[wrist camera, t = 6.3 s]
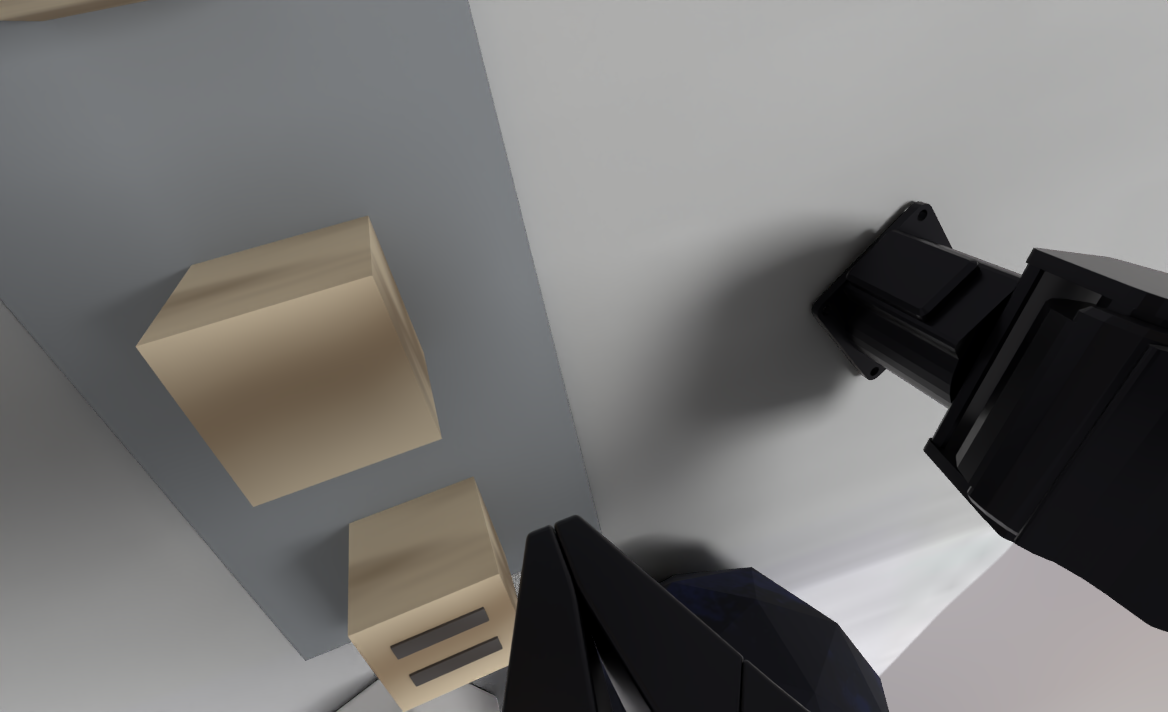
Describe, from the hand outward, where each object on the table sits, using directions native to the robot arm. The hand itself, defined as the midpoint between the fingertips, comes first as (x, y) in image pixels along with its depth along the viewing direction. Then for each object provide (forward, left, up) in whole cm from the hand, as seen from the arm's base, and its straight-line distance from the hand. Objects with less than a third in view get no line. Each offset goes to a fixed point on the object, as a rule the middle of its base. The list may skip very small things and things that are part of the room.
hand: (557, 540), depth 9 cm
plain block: (+2, +4, -12) cm, 13 cm away
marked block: (-7, +10, -12) cm, 17 cm away
